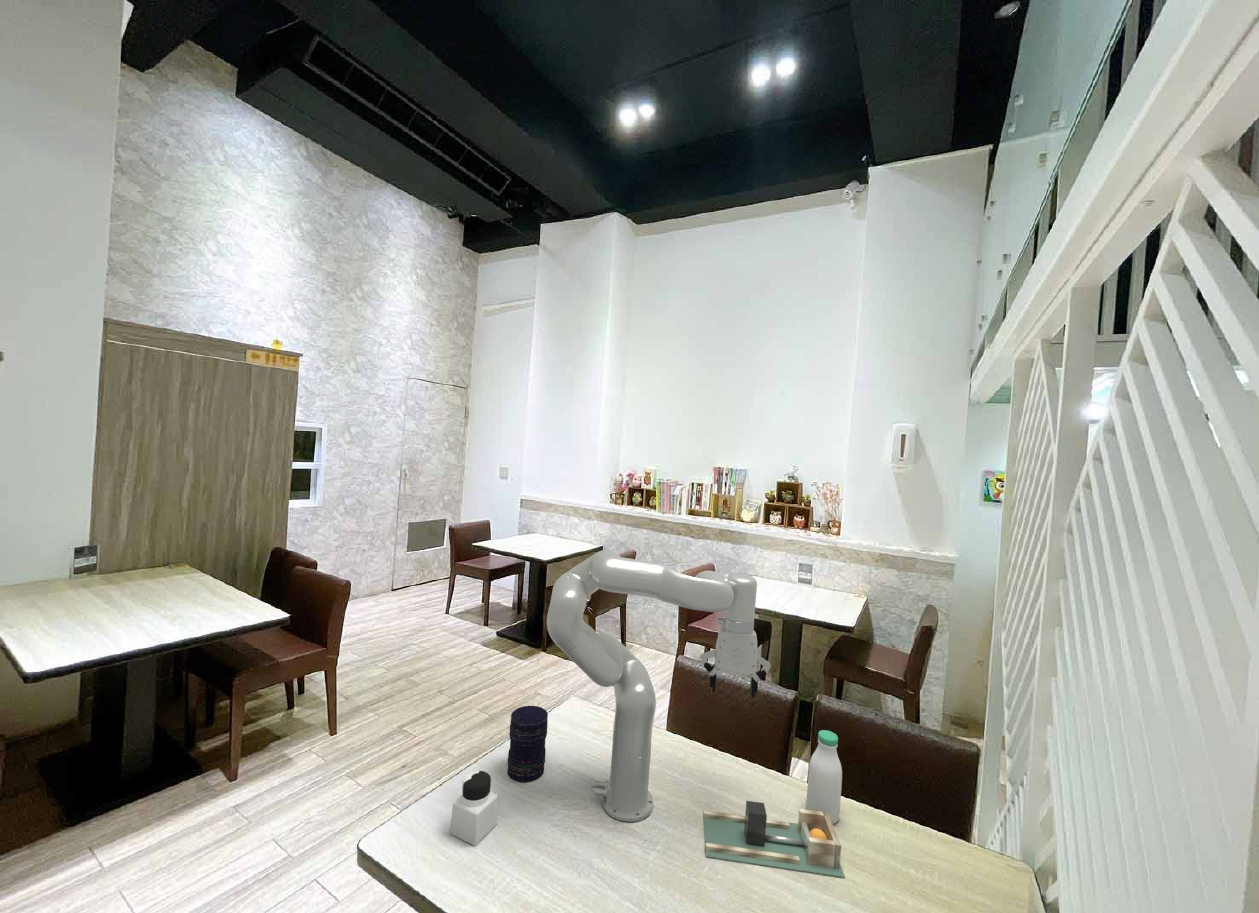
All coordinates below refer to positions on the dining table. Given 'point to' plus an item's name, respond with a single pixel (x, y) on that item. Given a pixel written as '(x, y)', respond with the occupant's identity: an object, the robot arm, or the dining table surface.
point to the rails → (745, 851)
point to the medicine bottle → (474, 808)
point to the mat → (761, 847)
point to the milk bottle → (825, 777)
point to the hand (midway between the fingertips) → (732, 692)
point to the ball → (817, 834)
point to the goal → (821, 849)
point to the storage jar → (527, 744)
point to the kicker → (757, 828)
